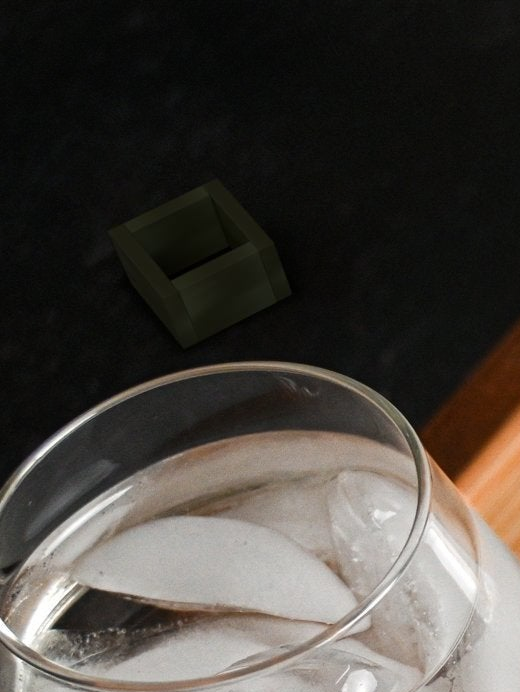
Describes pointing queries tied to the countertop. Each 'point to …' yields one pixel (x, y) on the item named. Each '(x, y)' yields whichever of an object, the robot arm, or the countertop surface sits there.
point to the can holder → (192, 246)
